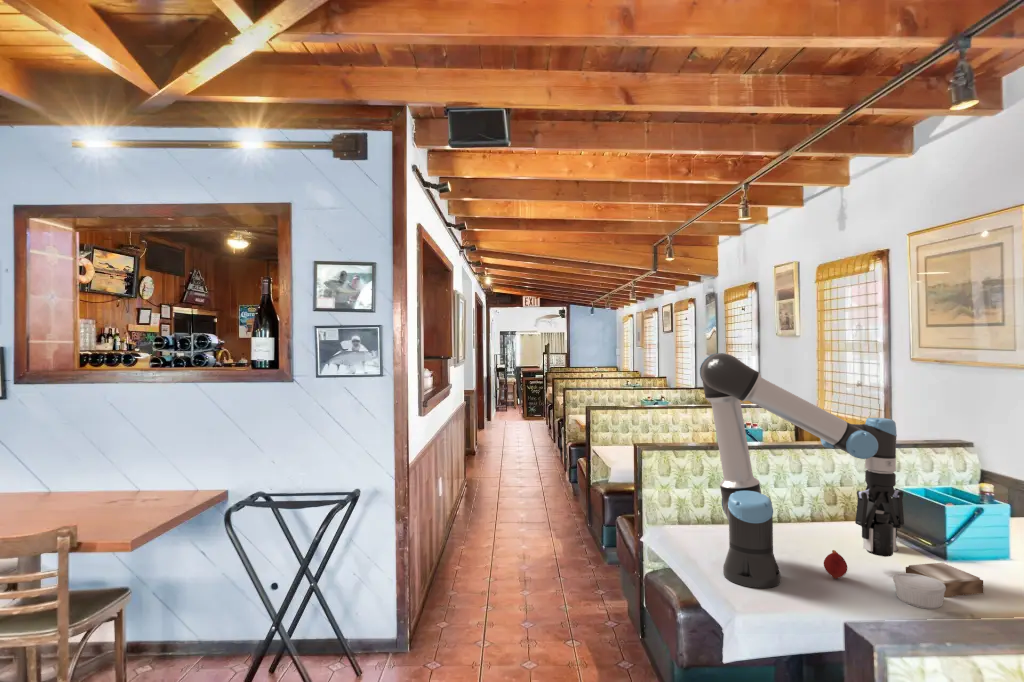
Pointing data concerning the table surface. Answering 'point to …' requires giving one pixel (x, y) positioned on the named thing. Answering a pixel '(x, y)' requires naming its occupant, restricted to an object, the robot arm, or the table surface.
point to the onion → (835, 565)
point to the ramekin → (919, 590)
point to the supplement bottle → (882, 534)
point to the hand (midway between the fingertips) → (879, 549)
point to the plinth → (949, 578)
